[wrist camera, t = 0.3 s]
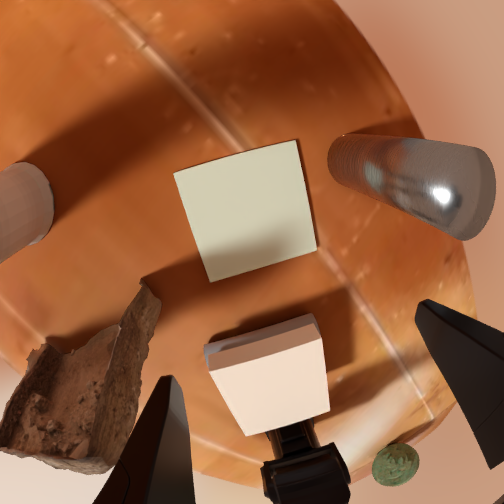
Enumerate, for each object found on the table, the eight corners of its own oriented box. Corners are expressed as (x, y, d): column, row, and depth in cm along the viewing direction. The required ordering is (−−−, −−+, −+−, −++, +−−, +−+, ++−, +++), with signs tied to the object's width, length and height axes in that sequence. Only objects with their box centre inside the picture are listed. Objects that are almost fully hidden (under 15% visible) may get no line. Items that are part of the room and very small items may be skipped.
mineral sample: (146, 273, 22) (101, 440, 8) (173, 309, 24) (163, 476, 10) (33, 341, 23) (-20, 452, 9) (57, 367, 25) (18, 479, 11)
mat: (315, 248, 24) (316, 250, 23) (210, 280, 23) (210, 282, 23) (293, 140, 20) (295, 140, 20) (174, 172, 20) (173, 173, 19)
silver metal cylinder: (377, 180, 22) (493, 227, 11) (332, 192, 22) (442, 252, 11) (370, 130, 21) (494, 144, 9) (322, 138, 20) (440, 152, 9)
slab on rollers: (319, 377, 30) (334, 409, 26) (235, 402, 30) (241, 437, 25) (307, 302, 26) (327, 335, 21) (201, 334, 25) (202, 373, 21)
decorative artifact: (369, 461, 47) (385, 494, 37) (358, 457, 44) (375, 494, 35) (407, 436, 45) (426, 468, 36) (400, 430, 42) (421, 466, 33)
